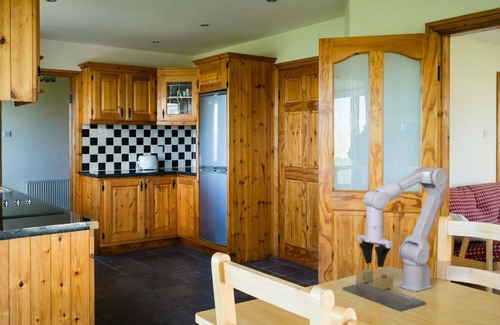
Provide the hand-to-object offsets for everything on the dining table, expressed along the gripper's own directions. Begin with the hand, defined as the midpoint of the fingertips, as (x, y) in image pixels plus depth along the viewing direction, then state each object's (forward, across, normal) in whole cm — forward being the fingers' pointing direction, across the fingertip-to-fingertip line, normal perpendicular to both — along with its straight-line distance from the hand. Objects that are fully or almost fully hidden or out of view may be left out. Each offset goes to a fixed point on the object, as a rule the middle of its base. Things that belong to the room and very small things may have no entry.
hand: (374, 264), depth 167 cm
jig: (+10, +4, -1) cm, 11 cm away
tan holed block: (+9, +4, 0) cm, 10 cm away
